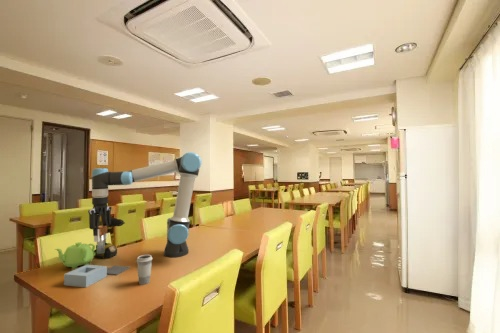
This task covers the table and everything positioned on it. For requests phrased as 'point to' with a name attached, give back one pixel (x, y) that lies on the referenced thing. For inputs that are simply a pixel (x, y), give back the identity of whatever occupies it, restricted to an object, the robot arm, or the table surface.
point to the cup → (144, 268)
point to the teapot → (77, 255)
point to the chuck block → (85, 275)
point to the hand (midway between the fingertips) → (100, 240)
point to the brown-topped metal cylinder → (101, 239)
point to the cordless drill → (109, 248)
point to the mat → (116, 270)
